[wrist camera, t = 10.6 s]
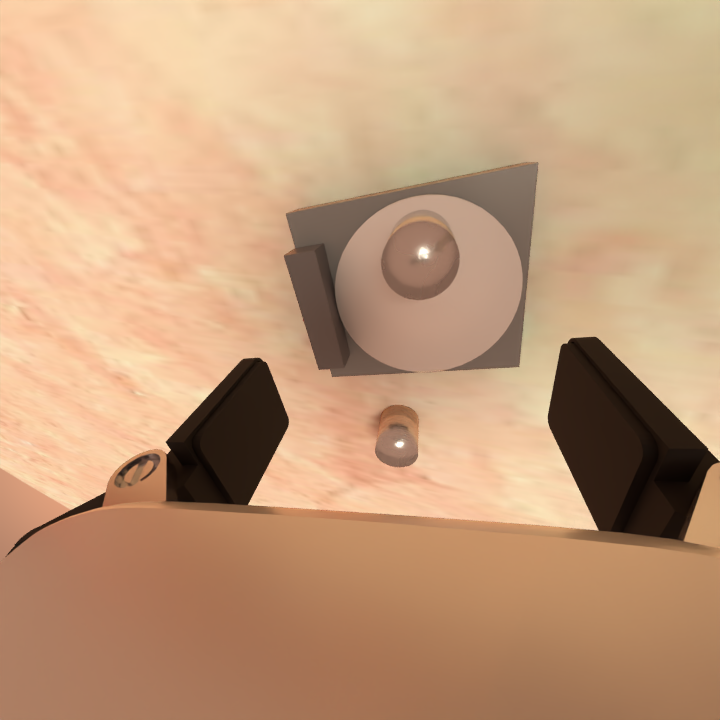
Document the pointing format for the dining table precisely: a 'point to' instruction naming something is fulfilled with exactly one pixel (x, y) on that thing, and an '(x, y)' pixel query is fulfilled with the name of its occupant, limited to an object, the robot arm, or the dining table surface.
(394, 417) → the cylinder
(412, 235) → the cylinder
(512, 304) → the scale
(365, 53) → the dining table surface
